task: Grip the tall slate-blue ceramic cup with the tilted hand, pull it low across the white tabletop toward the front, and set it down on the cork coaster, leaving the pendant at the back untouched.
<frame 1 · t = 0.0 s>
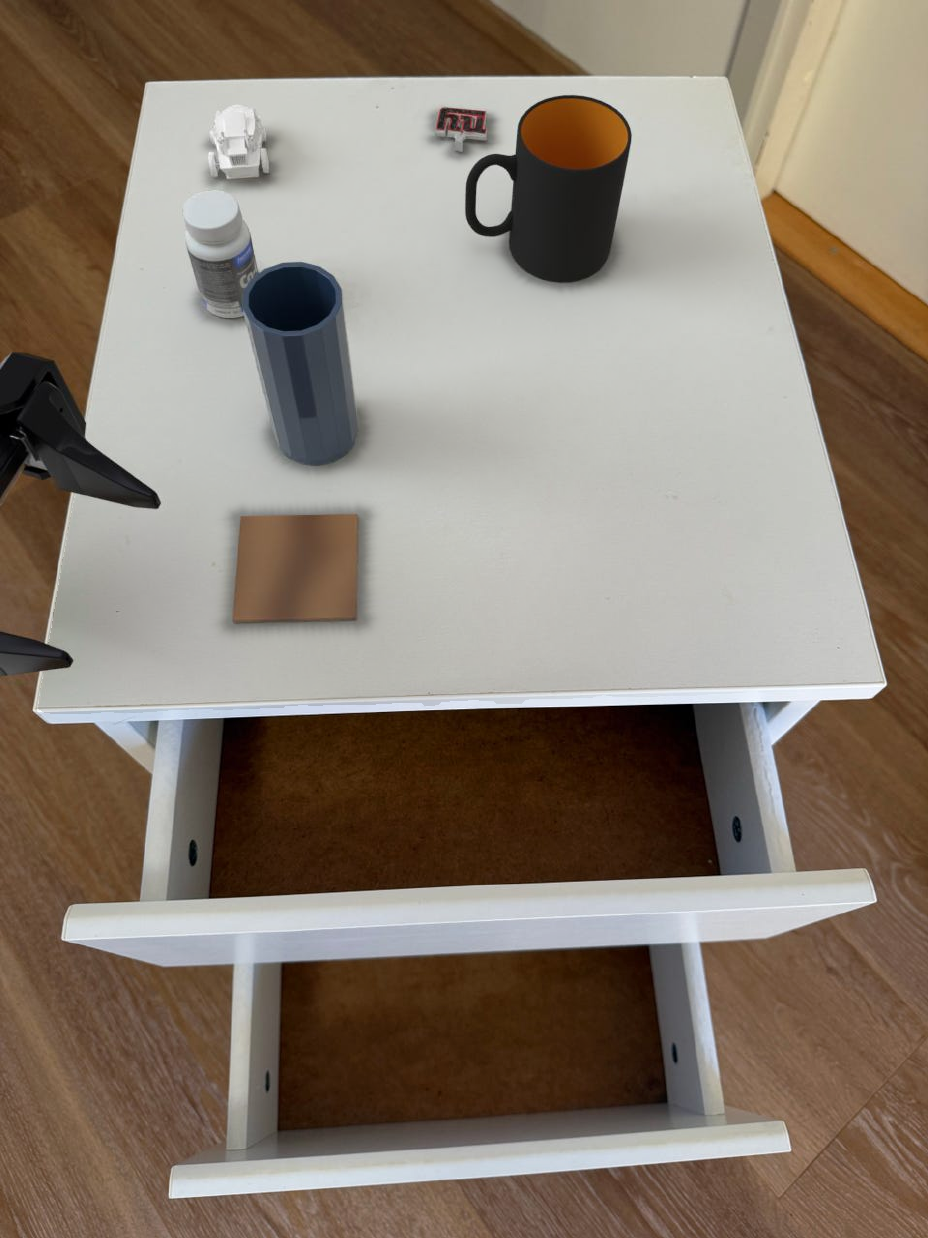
hand: (115, 577, 47), 16 cm above the table, tool horizontal, fingers open, 9 cm apart
pendant: (461, 135, 86), on the table
mug: (536, 249, 80), on the table
pill bottle: (233, 299, 77), on the table
toy car: (240, 158, 84), on the table
cup: (316, 431, 71), on the table
cork coaster: (297, 568, 66), on the table
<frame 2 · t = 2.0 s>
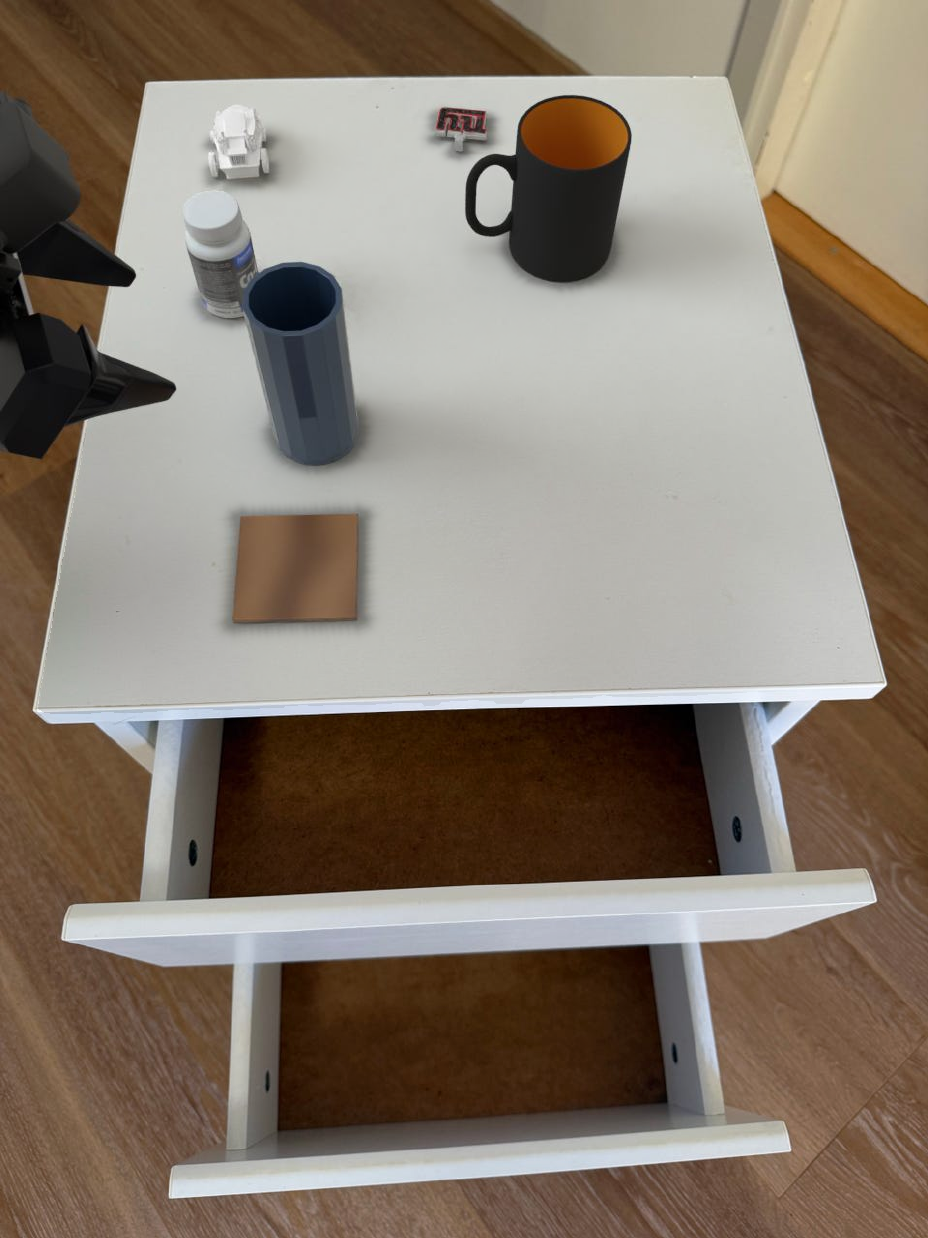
hand: (151, 333, 57), 14 cm above the table, tool tilted 45°, fingers open, 9 cm apart
nothing on the table moved.
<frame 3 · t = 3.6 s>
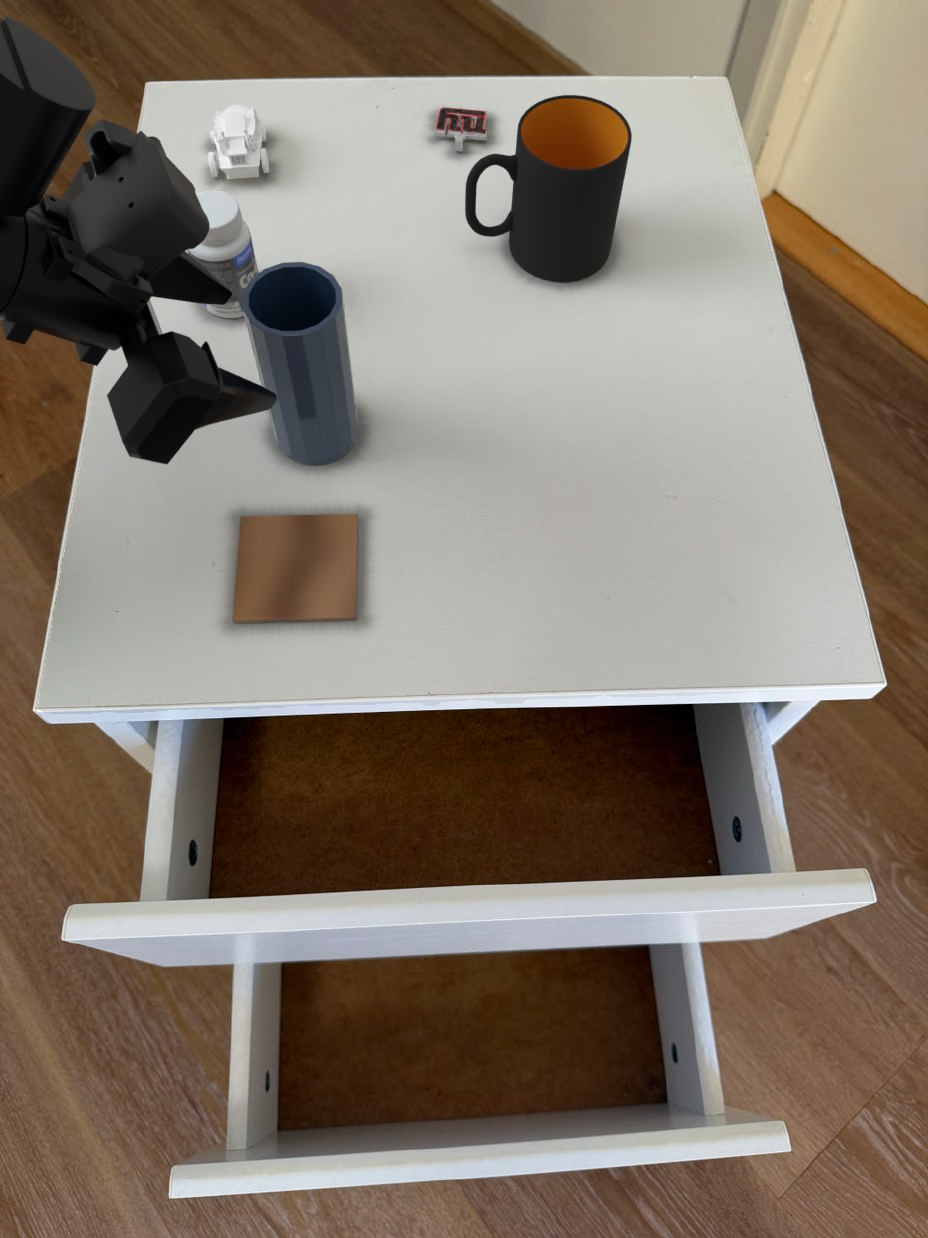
hand: (250, 348, 61), 10 cm above the table, tool tilted 45°, fingers open, 9 cm apart
nothing on the table moved.
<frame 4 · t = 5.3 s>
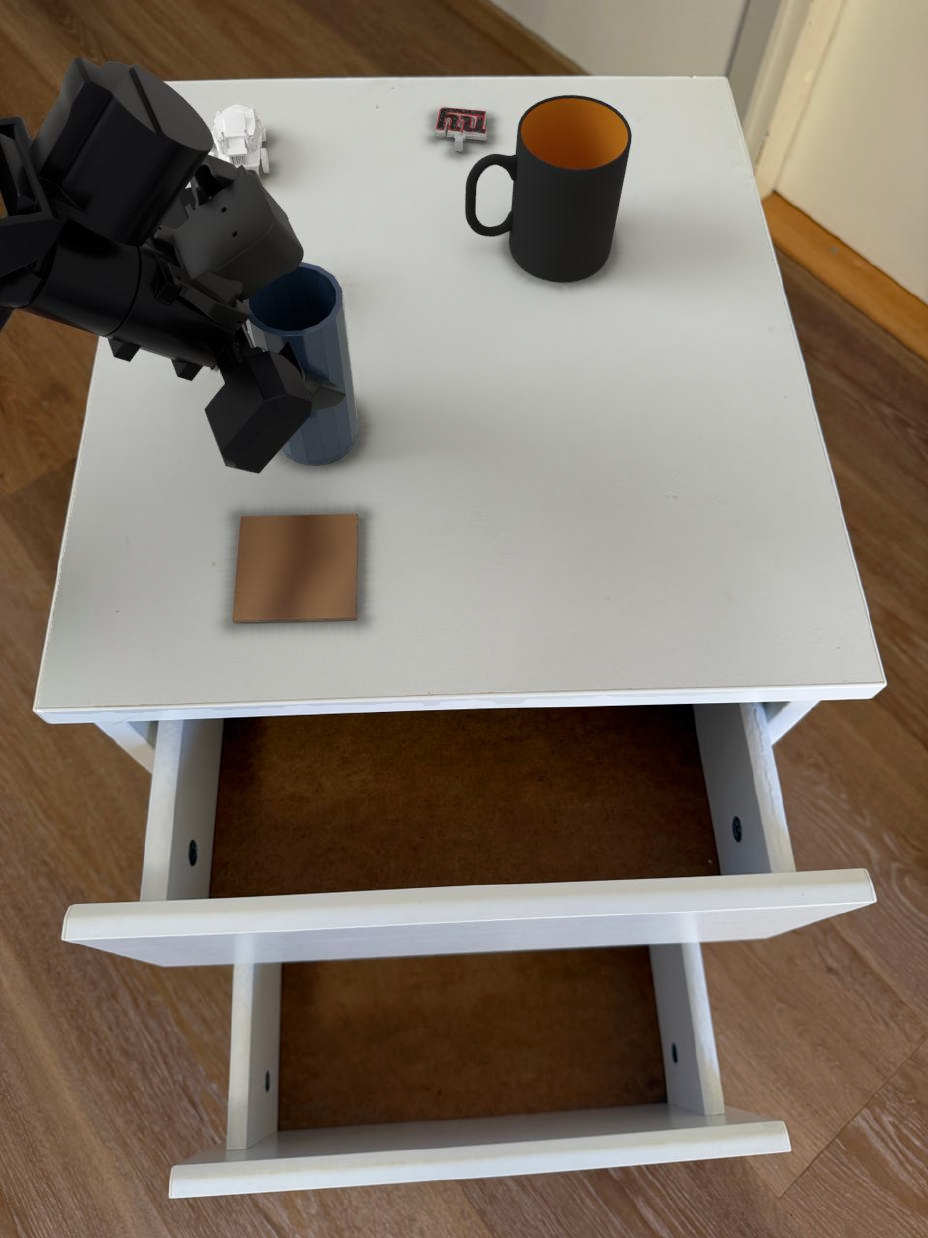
hand: (325, 363, 65), 7 cm above the table, tool tilted 45°, fingers closed on cup, 6 cm apart
cup: (317, 431, 71), on the table, touching gripper
everything else where it was.
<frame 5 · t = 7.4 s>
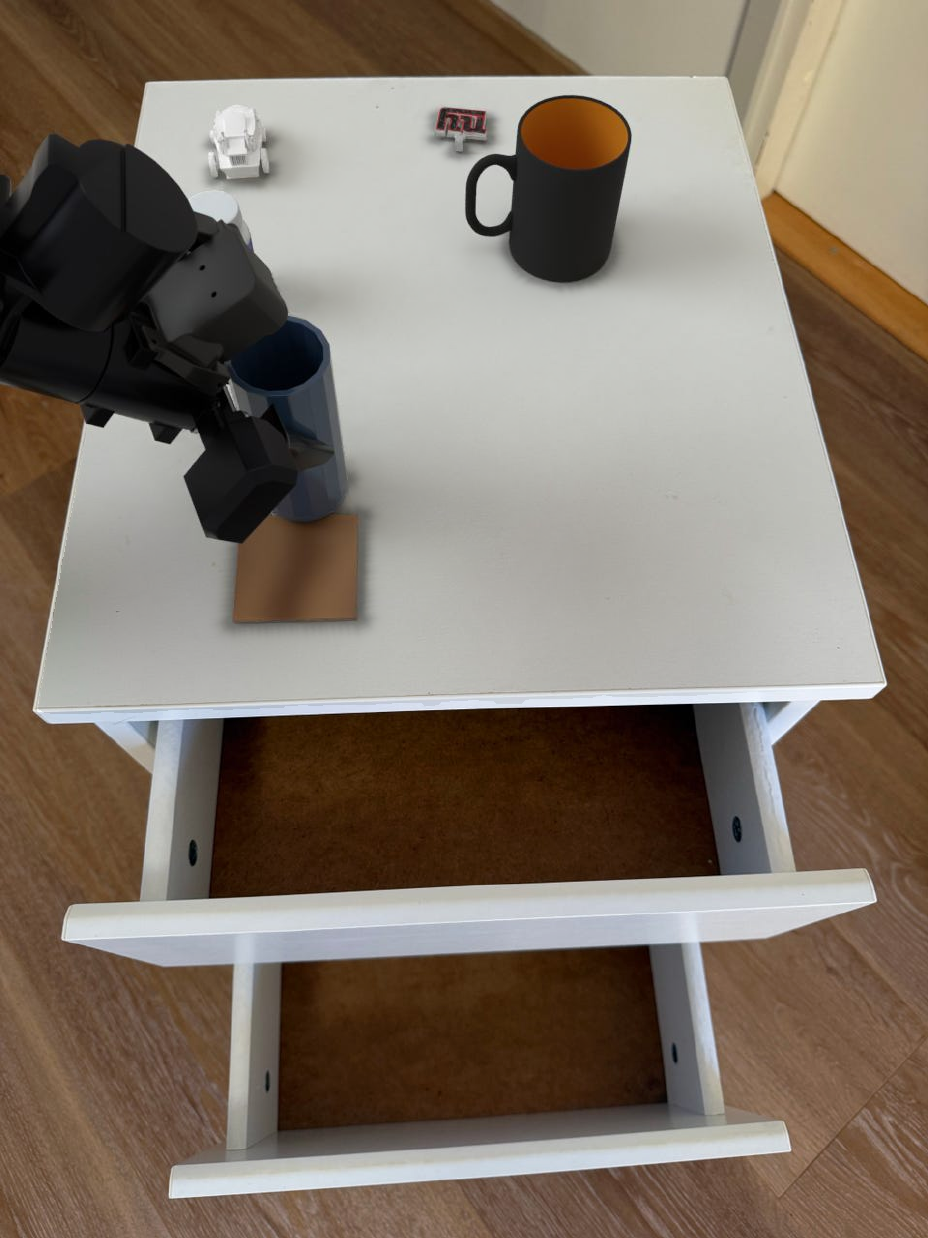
hand: (312, 418, 62), 8 cm above the table, tool tilted 45°, fingers closed on cup, 6 cm apart
cup: (304, 485, 67), point 1 cm above the table, touching gripper
everything else where it was.
when the fingers open (7 cm above the table, at t = 9.4 s): cup stays where it is, resting on cork coaster.
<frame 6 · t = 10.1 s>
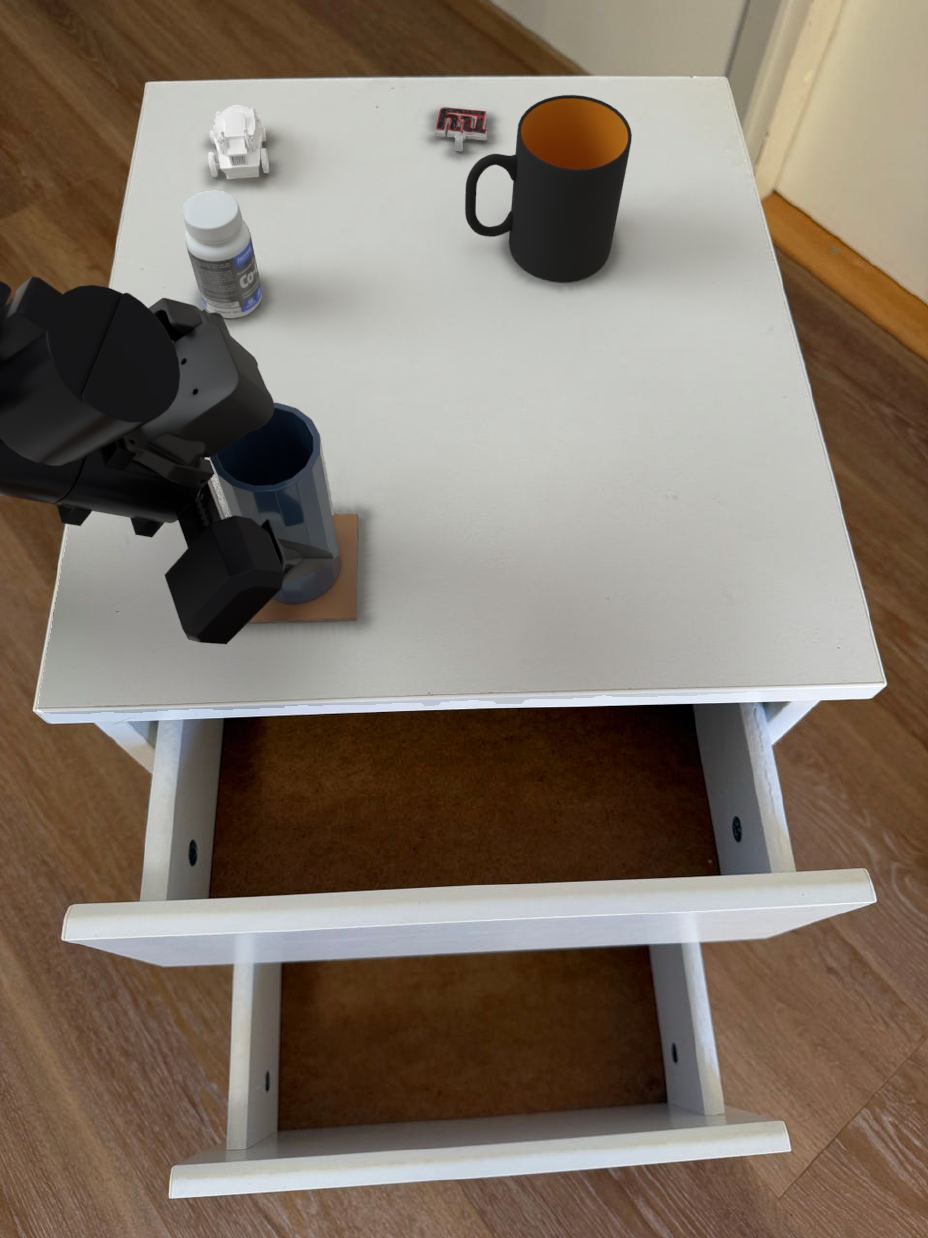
hand: (303, 499, 59), 7 cm above the table, tool tilted 45°, fingers open, 9 cm apart
cup: (296, 564, 65), resting on cork coaster
everything else where it was.
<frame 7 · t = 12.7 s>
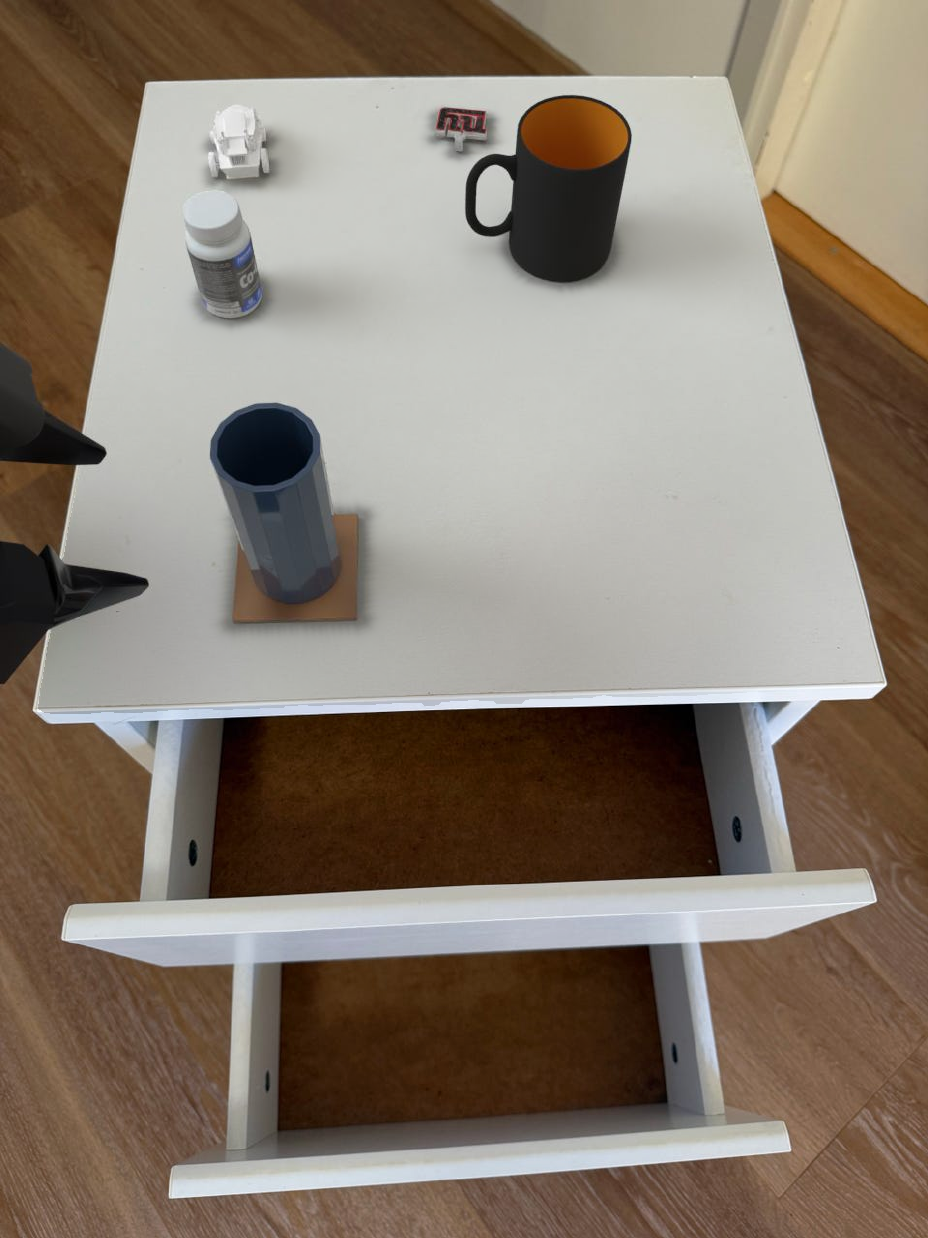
hand: (123, 519, 54), 11 cm above the table, tool tilted 45°, fingers open, 9 cm apart
nothing on the table moved.
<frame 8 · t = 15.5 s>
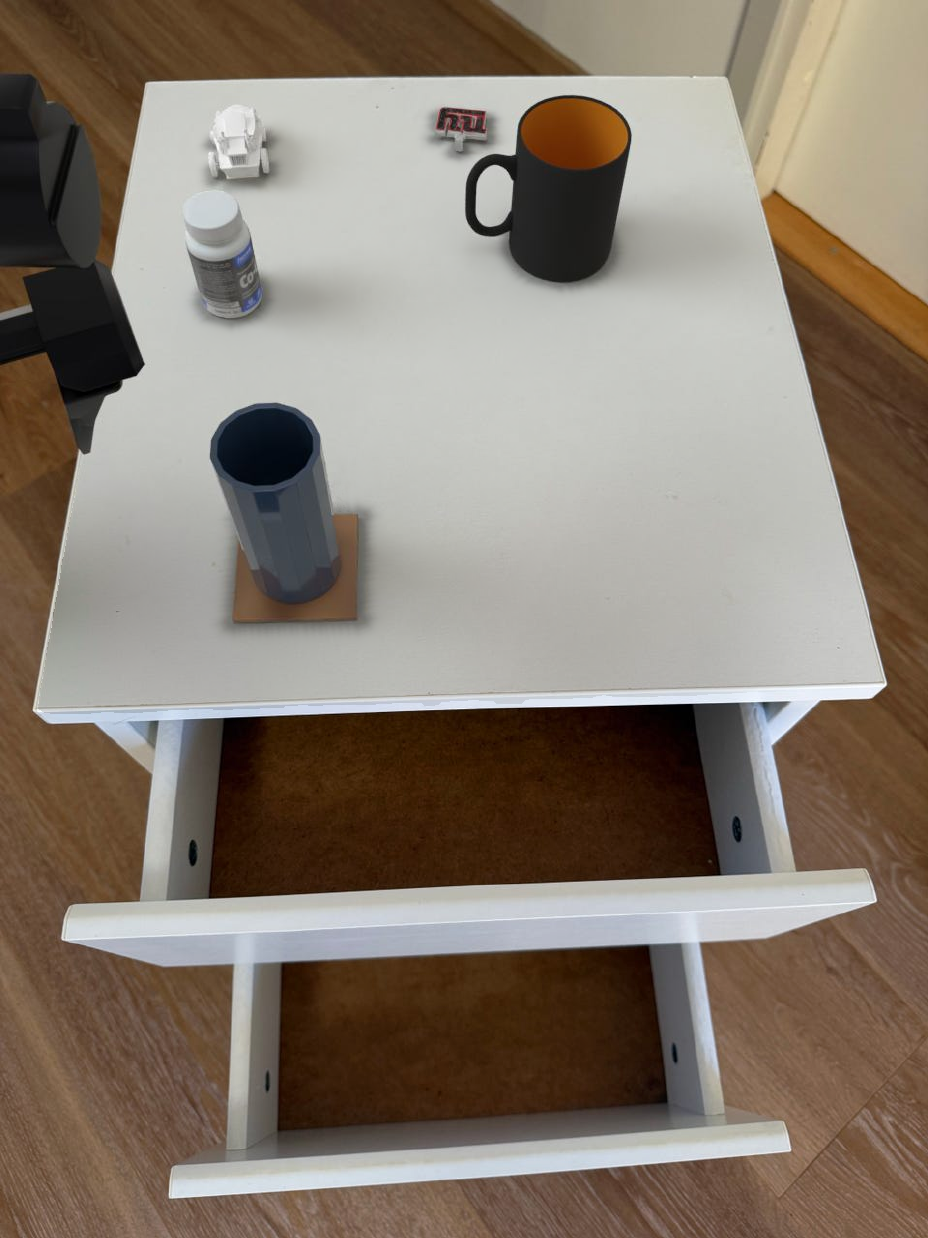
hand: (0, 473, 53), 13 cm above the table, tool pointing down, fingers open, 9 cm apart
nothing on the table moved.
at the end: cup 0.1 cm off-centre on the cork coaster, point 0.4 cm above the cork coaster's base; cup tilted 0°; pendant moved 0.1 cm from its start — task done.
